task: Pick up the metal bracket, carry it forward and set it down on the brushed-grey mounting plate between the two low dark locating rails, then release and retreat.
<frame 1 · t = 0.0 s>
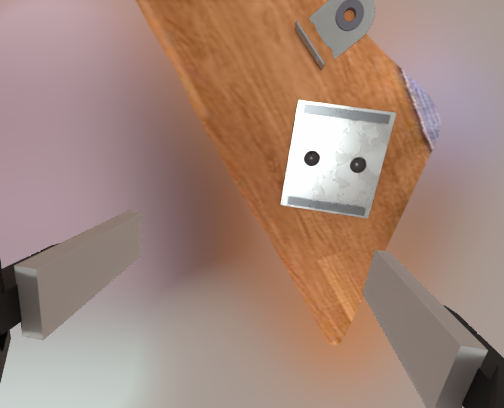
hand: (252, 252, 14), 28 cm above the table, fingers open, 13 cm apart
bracket: (331, 29, 36), on the table
mount plate: (333, 161, 40), on the table
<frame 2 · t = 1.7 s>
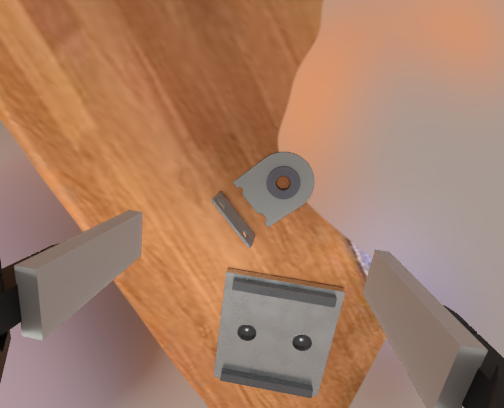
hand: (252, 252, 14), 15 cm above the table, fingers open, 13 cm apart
bracket: (264, 191, 29), on the table
mount plate: (274, 331, 33), on the table
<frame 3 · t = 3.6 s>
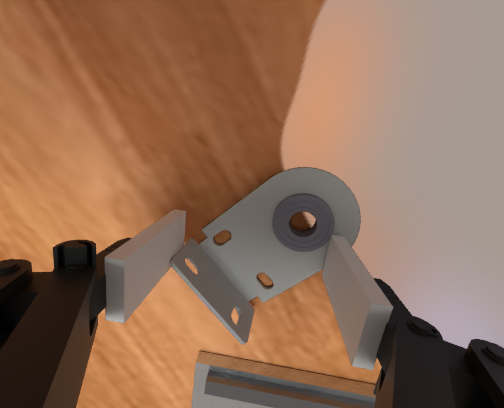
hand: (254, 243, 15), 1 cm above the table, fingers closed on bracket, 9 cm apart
bracket: (268, 235, 17), on the table, touching gripper
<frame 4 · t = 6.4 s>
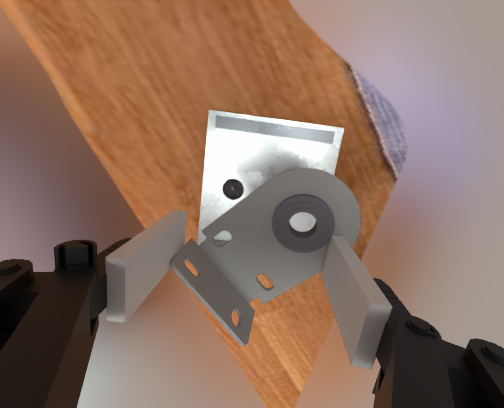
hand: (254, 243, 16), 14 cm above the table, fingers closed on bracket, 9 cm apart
bracket: (268, 235, 17), point 13 cm above the table, touching gripper
mount plate: (264, 192, 29), on the table
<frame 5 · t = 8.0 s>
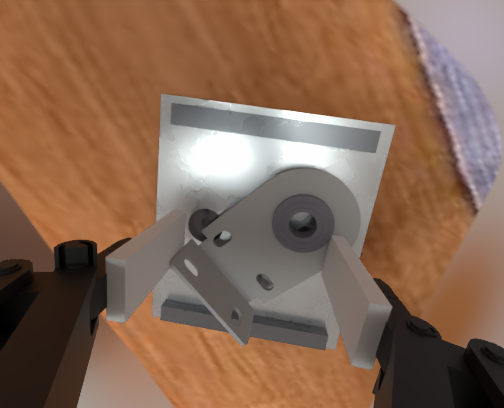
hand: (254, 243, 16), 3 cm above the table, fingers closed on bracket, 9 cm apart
bracket: (268, 236, 17), point 1 cm above the table, touching gripper
mount plate: (257, 229, 18), on the table
when the fingers open (3 cm above the table, at t = 9.2 s): bracket stays where it is, resting on mount plate.
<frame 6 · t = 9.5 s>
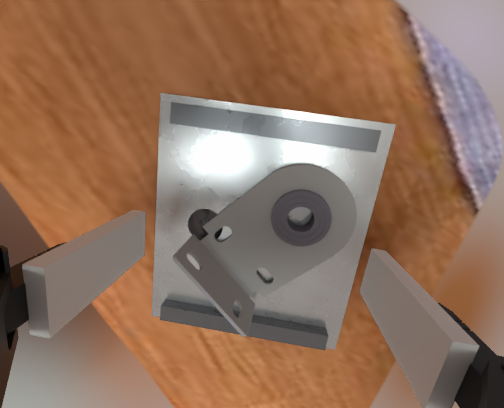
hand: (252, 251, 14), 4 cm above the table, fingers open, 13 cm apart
bracket: (268, 231, 17), point 1 cm above the table, touching mount plate
mount plate: (257, 228, 18), on the table
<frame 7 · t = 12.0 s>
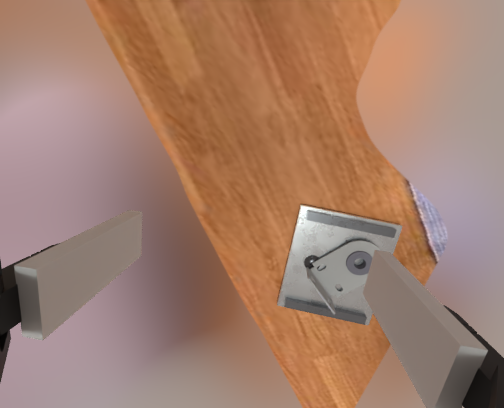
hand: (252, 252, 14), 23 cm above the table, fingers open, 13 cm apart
bracket: (341, 266, 37), point 1 cm above the table, touching mount plate
mount plate: (334, 264, 38), on the table
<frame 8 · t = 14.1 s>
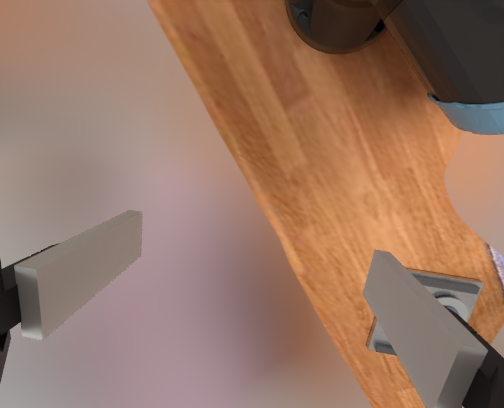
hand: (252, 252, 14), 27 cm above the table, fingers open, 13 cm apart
bracket: (427, 317, 42), point 1 cm above the table, touching mount plate
mount plate: (419, 314, 43), on the table
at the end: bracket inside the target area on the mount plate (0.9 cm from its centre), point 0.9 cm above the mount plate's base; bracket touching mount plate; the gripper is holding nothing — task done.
